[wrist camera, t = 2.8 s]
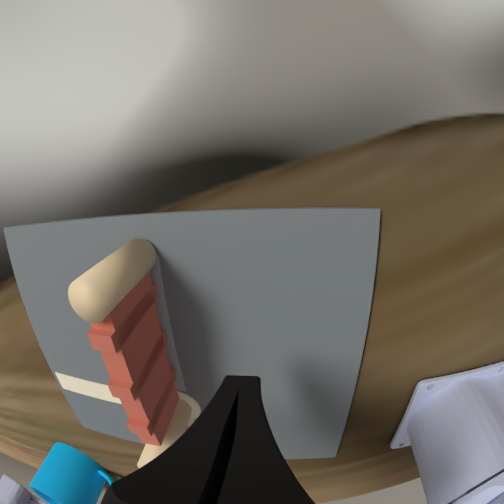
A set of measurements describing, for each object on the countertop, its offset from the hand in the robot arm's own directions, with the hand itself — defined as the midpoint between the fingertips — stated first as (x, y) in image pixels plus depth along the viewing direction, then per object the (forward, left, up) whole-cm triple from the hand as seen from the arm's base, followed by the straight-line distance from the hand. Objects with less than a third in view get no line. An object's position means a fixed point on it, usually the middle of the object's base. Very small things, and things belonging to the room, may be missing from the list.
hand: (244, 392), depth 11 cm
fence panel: (+5, 0, -4) cm, 7 cm away
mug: (+21, +24, -5) cm, 32 cm away
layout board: (+5, +3, -5) cm, 8 cm away
